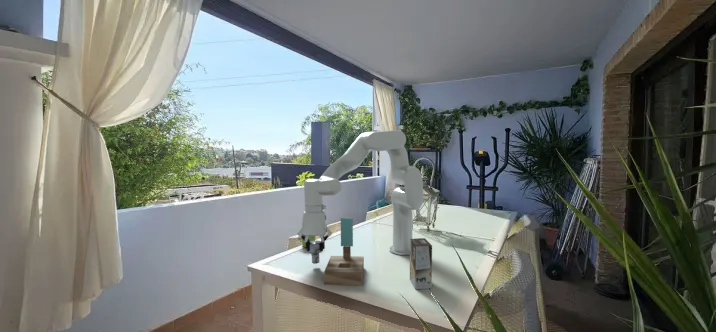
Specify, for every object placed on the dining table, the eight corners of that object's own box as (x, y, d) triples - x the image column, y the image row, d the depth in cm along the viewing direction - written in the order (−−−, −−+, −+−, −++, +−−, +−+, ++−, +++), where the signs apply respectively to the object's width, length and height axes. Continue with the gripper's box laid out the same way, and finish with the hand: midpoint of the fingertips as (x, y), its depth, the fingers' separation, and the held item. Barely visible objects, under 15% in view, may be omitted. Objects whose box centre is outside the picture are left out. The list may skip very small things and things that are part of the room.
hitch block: (331, 267, 131) (330, 245, 130) (363, 268, 130) (363, 246, 129) (324, 284, 115) (324, 259, 114) (361, 285, 114) (361, 260, 113)
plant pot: (312, 241, 165) (311, 225, 165) (321, 246, 158) (321, 229, 157) (296, 245, 160) (296, 228, 159) (305, 250, 152) (304, 232, 152)
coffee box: (432, 288, 111) (433, 245, 110) (415, 289, 111) (415, 246, 109) (424, 277, 120) (425, 237, 119) (408, 278, 120) (409, 238, 119)
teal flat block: (340, 246, 128) (341, 245, 129) (352, 246, 128) (352, 245, 129) (340, 218, 127) (340, 217, 128) (352, 218, 127) (352, 217, 128)
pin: (322, 259, 133) (322, 240, 132) (320, 264, 128) (319, 244, 127) (311, 259, 133) (310, 240, 133) (308, 264, 128) (307, 244, 127)
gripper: (335, 206, 132) (336, 247, 133) (296, 206, 133) (297, 247, 134) (332, 210, 124) (333, 253, 126) (291, 210, 125) (293, 253, 127)
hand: (315, 250), depth 130 cm, fingers closed on pin, 5 cm apart
